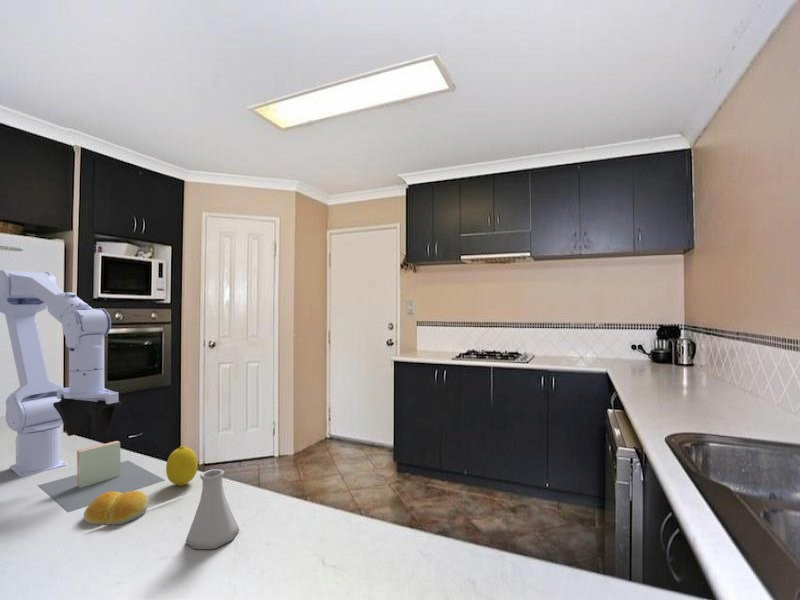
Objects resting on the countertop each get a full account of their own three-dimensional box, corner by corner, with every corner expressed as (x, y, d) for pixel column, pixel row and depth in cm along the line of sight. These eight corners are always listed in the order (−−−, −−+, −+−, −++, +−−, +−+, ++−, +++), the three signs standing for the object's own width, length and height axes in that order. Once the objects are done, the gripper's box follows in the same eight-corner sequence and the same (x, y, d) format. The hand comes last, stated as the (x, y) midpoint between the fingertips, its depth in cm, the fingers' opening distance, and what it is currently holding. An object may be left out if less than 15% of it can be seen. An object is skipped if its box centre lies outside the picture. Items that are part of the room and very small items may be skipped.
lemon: (203, 481, 86) (203, 441, 86) (187, 493, 81) (186, 451, 81) (177, 480, 87) (177, 441, 87) (159, 492, 81) (159, 450, 81)
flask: (248, 529, 68) (247, 467, 68) (214, 555, 61) (213, 486, 61) (211, 522, 70) (211, 461, 70) (175, 546, 63) (174, 479, 63)
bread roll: (136, 525, 70) (136, 501, 70) (76, 530, 68) (76, 505, 68) (157, 501, 78) (157, 480, 78) (103, 505, 76) (103, 483, 77)
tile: (77, 485, 83) (77, 450, 83) (117, 474, 89) (117, 440, 89) (79, 487, 83) (79, 451, 83) (120, 475, 88) (120, 442, 88)
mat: (38, 487, 84) (37, 485, 84) (128, 462, 97) (128, 460, 97) (68, 514, 73) (68, 512, 73) (165, 482, 86) (165, 480, 86)
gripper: (40, 370, 84) (40, 438, 84) (93, 374, 80) (93, 446, 80) (77, 364, 91) (77, 428, 91) (128, 368, 86) (128, 435, 86)
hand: (87, 436), depth 86 cm, fingers open, 7 cm apart
